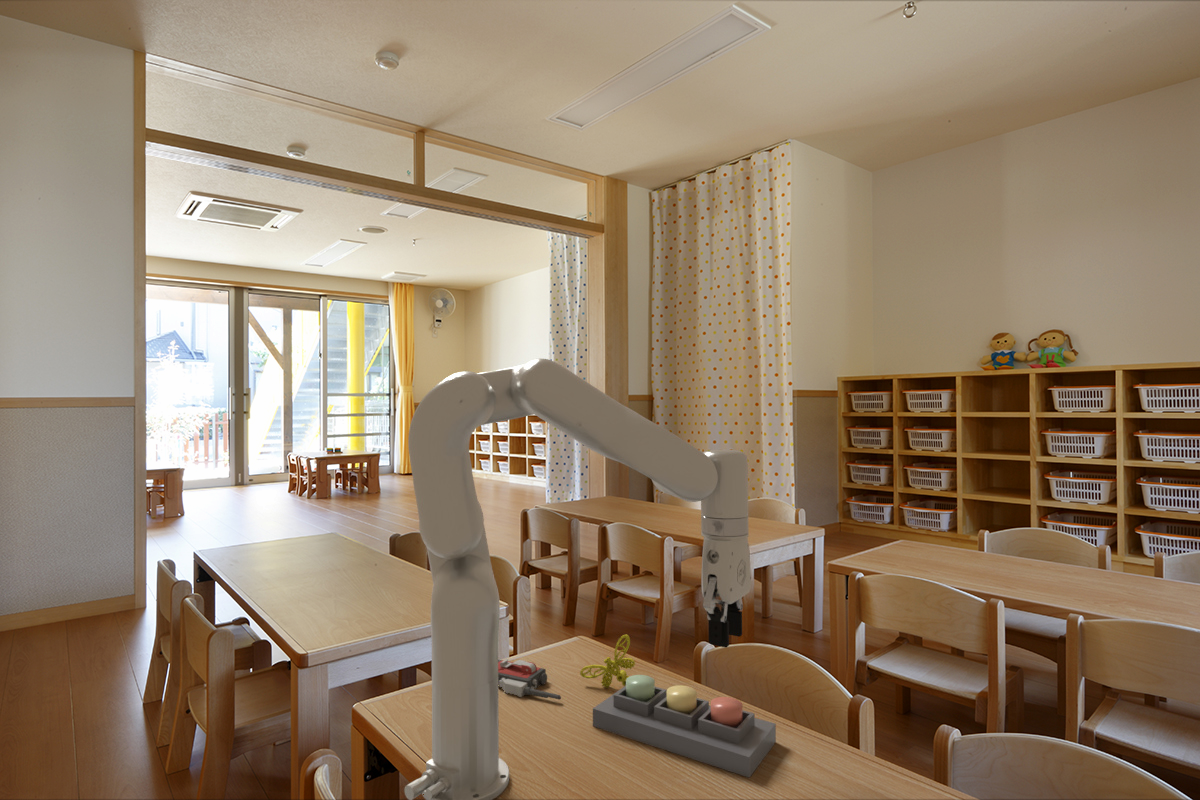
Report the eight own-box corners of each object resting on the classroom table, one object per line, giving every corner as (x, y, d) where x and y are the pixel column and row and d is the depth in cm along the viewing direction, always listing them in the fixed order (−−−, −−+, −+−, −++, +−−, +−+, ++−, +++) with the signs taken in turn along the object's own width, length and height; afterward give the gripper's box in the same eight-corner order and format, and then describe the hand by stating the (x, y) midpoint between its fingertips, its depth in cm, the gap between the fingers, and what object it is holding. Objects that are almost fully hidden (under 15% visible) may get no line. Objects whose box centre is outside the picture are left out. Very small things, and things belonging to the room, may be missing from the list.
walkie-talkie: (470, 687, 125) (557, 708, 117) (470, 665, 125) (557, 683, 117) (496, 671, 133) (580, 689, 124) (496, 650, 133) (580, 666, 124)
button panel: (749, 777, 93) (749, 743, 93) (592, 726, 109) (592, 696, 109) (775, 742, 103) (775, 711, 103) (628, 699, 119) (628, 672, 119)
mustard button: (688, 716, 103) (688, 701, 103) (661, 708, 106) (661, 693, 106) (701, 704, 107) (701, 689, 107) (675, 697, 110) (674, 682, 110)
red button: (735, 730, 98) (735, 714, 98) (705, 721, 101) (705, 706, 101) (747, 717, 102) (747, 701, 102) (718, 709, 105) (718, 694, 105)
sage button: (645, 704, 107) (645, 689, 107) (620, 697, 110) (620, 682, 110) (659, 693, 111) (659, 678, 111) (635, 686, 114) (635, 672, 114)
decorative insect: (609, 716, 123) (577, 673, 125) (614, 708, 126) (582, 667, 128) (658, 677, 120) (624, 634, 122) (662, 671, 123) (628, 629, 126)
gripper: (725, 538, 93) (727, 662, 93) (765, 520, 107) (766, 629, 107) (680, 532, 97) (681, 652, 97) (723, 517, 111) (724, 621, 111)
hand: (725, 638), depth 102 cm, fingers open, 4 cm apart
